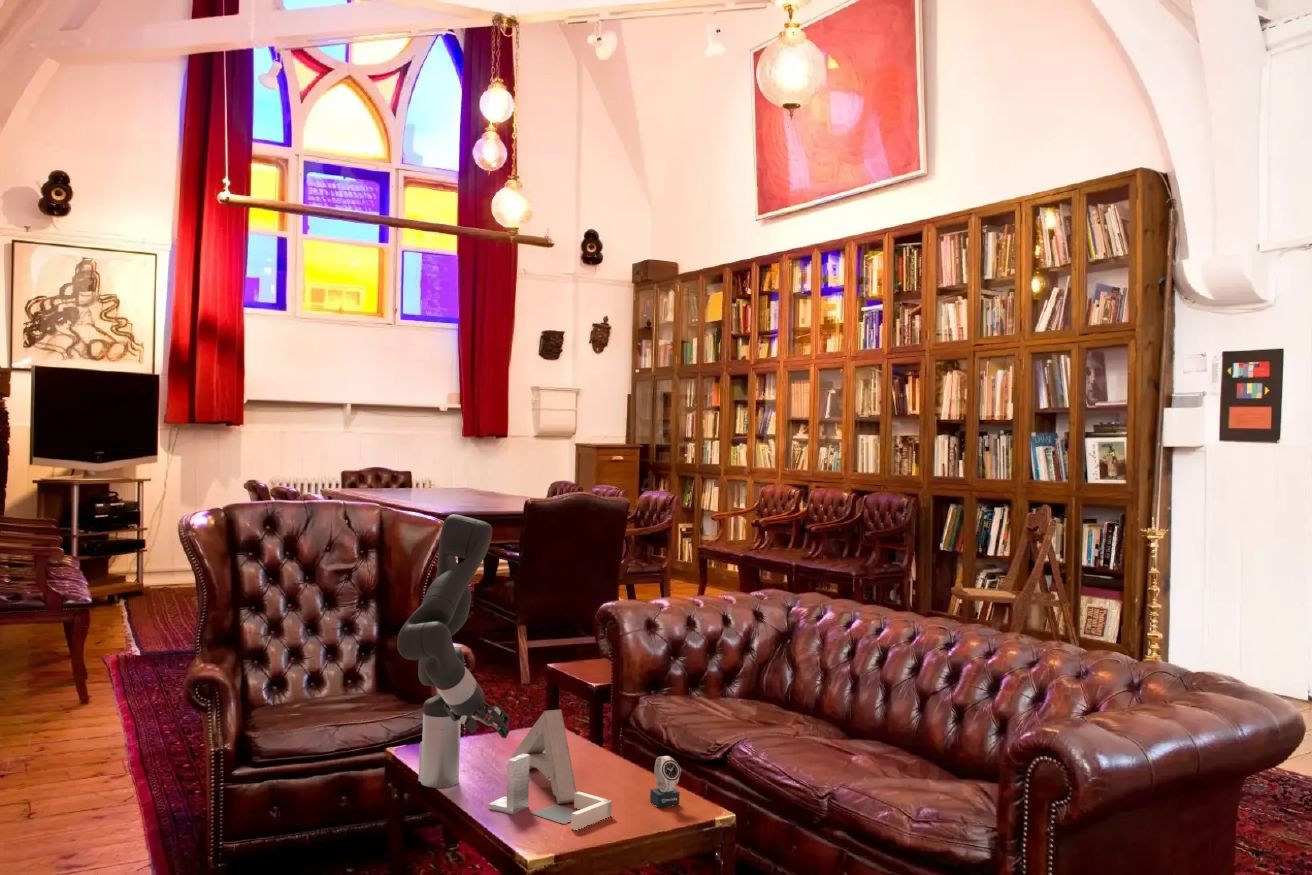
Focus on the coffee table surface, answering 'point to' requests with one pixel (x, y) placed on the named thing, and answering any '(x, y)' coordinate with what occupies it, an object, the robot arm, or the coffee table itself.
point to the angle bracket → (515, 786)
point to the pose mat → (556, 814)
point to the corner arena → (589, 810)
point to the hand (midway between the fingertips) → (490, 732)
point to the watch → (665, 782)
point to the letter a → (551, 754)
